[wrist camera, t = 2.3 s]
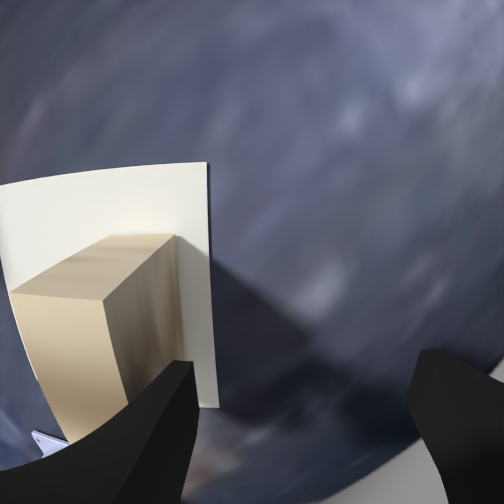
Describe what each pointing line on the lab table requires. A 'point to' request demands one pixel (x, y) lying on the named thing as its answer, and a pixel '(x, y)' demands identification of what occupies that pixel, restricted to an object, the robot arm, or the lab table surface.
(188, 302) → the mat
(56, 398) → the beech block
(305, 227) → the lab table surface
